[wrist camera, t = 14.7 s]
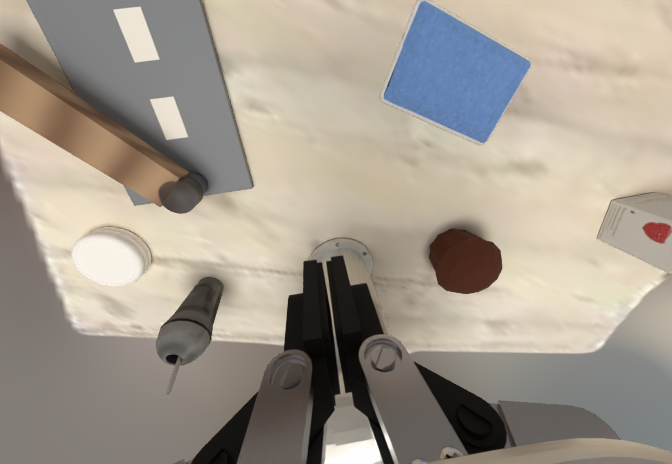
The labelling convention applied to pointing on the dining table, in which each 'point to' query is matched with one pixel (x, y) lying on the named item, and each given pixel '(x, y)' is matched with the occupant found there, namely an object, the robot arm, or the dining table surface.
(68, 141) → the swing bar
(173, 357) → the beverage cup
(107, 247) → the white round container
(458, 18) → the tablet computer
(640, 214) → the supplement box
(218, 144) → the label panel
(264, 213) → the dining table surface
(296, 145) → the dining table surface
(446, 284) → the muffin
